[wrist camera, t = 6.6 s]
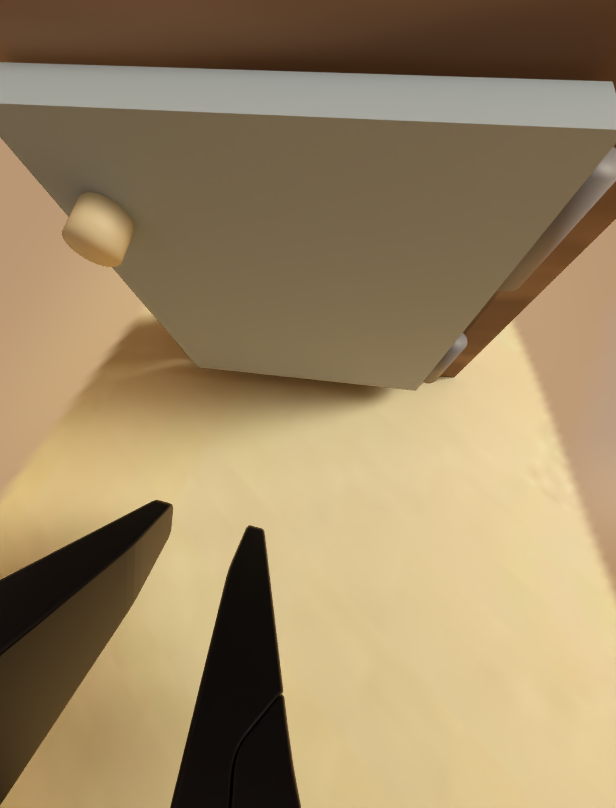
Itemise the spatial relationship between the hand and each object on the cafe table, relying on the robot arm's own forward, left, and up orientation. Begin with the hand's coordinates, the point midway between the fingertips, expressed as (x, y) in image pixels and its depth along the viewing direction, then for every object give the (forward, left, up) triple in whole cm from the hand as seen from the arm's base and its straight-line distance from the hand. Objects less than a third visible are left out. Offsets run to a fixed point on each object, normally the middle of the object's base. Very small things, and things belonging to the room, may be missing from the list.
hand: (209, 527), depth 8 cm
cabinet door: (+5, -4, -6) cm, 9 cm away
